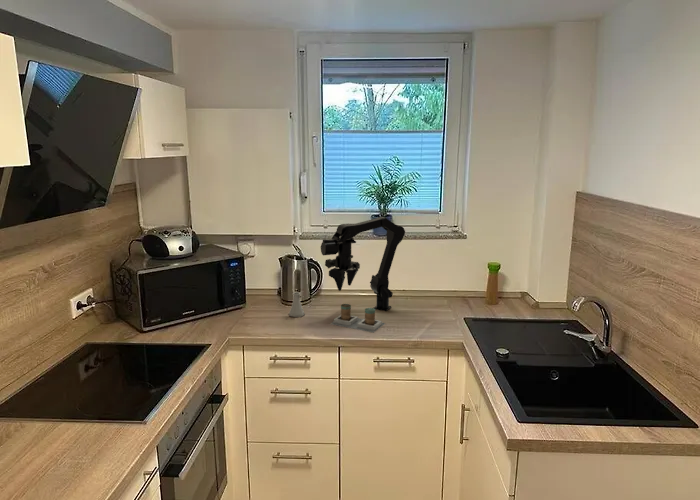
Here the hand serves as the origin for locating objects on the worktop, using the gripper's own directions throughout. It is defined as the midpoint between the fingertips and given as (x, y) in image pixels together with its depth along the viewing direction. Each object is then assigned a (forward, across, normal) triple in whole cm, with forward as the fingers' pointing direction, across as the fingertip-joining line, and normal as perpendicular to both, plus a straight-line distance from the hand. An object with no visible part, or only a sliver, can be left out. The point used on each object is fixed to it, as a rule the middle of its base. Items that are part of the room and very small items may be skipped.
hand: (344, 287), depth 224 cm
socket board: (+12, +11, +12) cm, 20 cm away
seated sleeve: (+11, +11, +18) cm, 23 cm away
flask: (+12, +11, -18) cm, 24 cm away
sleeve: (+11, +11, +6) cm, 17 cm away
